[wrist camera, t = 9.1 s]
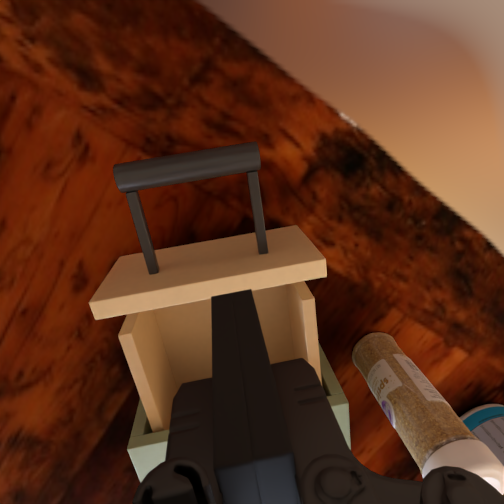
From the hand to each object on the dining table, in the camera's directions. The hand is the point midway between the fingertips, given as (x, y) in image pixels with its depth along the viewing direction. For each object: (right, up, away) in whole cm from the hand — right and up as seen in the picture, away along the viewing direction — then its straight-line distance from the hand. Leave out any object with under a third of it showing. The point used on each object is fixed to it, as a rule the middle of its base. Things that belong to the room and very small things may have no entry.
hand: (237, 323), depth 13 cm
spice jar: (+12, -7, +20) cm, 24 cm away
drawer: (-2, 0, +14) cm, 14 cm away
